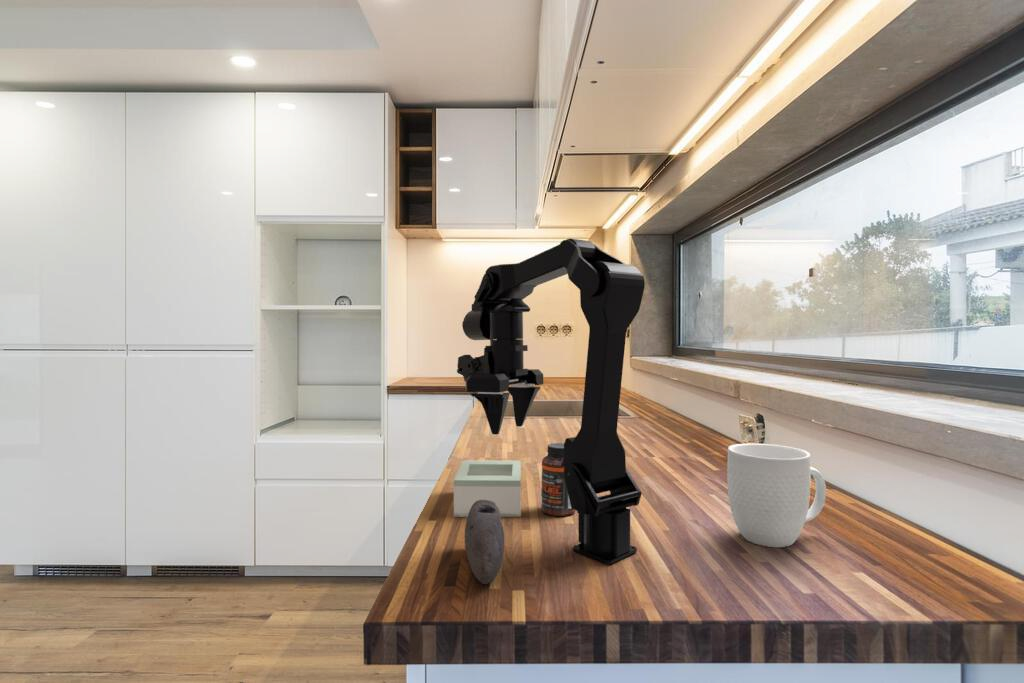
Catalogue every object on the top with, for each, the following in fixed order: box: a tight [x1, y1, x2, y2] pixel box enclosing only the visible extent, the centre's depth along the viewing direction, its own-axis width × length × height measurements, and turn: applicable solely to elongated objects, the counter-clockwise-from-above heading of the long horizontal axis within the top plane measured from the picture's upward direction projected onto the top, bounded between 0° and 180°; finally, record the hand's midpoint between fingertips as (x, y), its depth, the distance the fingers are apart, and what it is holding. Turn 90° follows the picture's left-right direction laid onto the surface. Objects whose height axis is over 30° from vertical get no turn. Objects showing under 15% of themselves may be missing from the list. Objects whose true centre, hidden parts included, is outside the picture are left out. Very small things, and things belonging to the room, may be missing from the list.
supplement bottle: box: [540, 442, 577, 517], centre depth 92 cm, size 6×6×11 cm
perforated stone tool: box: [464, 500, 505, 585], centre depth 70 cm, size 15×5×7 cm, turn 2°
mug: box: [726, 442, 827, 548], centre depth 80 cm, size 15×11×13 cm
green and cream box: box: [453, 459, 522, 518], centre depth 96 cm, size 11×14×6 cm
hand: (507, 430), depth 94 cm, fingers open, 9 cm apart
